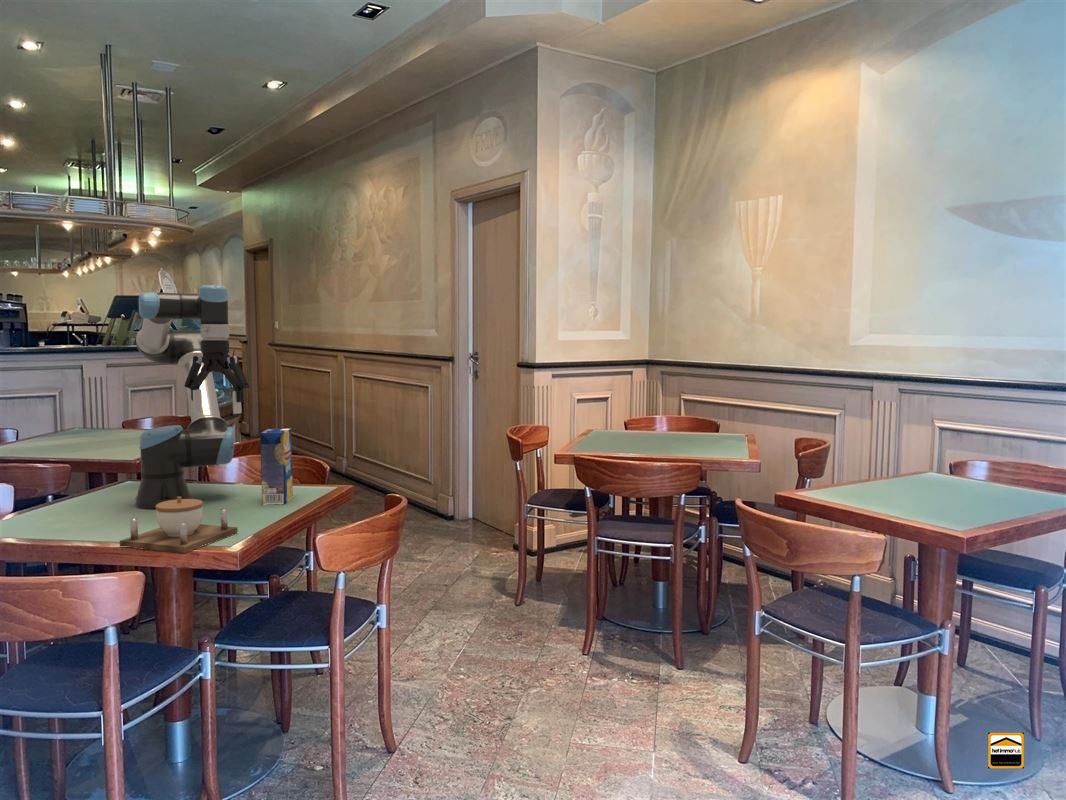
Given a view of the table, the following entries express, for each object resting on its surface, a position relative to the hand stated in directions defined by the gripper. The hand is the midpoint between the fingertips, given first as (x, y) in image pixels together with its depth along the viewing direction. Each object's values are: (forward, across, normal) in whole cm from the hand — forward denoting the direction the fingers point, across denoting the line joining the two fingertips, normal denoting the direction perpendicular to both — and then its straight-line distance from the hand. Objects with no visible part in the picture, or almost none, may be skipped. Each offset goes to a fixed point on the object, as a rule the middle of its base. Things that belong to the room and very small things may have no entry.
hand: (217, 412), depth 218 cm
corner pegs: (+27, +12, -30) cm, 42 cm away
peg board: (+29, +12, -30) cm, 43 cm away
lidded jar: (+27, +12, -30) cm, 42 cm away
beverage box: (+29, +9, +15) cm, 34 cm away
